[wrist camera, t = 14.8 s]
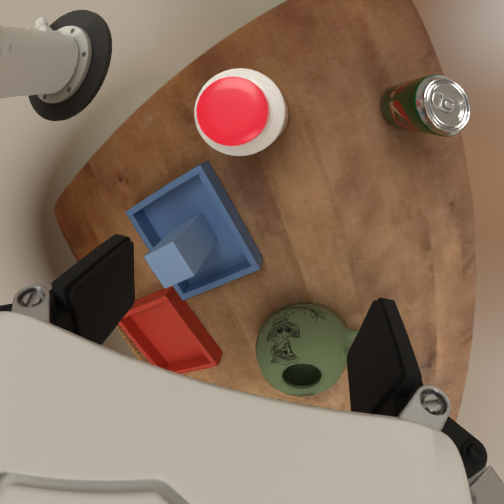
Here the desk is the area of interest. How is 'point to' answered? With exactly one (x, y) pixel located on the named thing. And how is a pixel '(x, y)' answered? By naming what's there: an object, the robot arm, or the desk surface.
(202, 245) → the blue block
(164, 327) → the red tray
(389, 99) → the soda can
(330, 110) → the desk surface
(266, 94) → the pill bottle
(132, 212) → the blue tray
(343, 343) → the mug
